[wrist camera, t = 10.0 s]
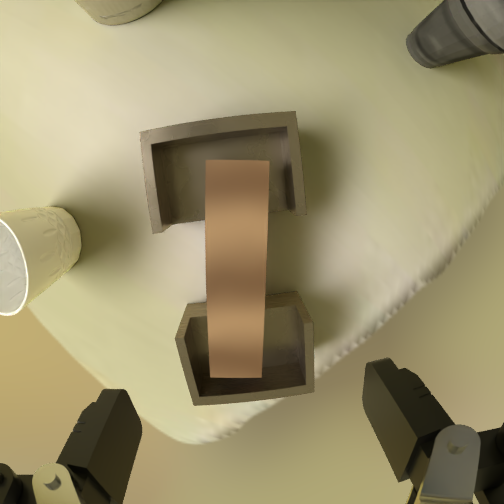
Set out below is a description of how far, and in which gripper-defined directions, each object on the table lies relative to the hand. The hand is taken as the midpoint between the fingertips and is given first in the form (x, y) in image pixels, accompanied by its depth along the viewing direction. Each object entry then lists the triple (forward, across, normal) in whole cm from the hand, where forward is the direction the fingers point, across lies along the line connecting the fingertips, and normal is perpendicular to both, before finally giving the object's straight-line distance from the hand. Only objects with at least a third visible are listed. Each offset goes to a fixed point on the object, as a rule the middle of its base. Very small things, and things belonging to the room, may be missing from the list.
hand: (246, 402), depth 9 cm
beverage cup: (+20, -22, -19) cm, 35 cm away
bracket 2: (+19, 0, +8) cm, 20 cm away
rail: (+16, 0, 0) cm, 16 cm away
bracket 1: (+19, 0, -7) cm, 20 cm away
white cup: (+19, +18, -4) cm, 27 cm away
